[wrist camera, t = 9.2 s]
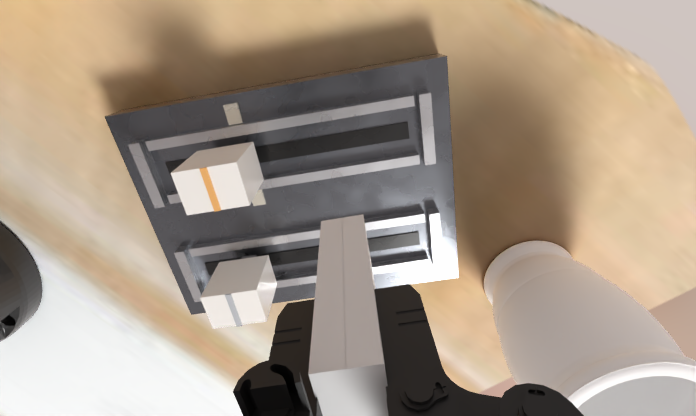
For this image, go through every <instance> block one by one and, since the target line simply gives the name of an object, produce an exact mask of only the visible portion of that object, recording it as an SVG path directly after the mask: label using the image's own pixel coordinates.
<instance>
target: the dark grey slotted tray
mask: <svg viewBox="0 0 696 416" xmlns="http://www.w3.org/2000/svg"><path fill="white" fill-rule="evenodd" d="M105 119H106V121H107V123H108V126H109V128H110V130H111V133H112V135H113V137H114V139H115V142H116V144H117V146H118V148H119V151H120V153H121V155H122V158H123V160H124V162H125V164H126V167H127V169H128V171H129V174H130V176H131V178H132V180H133V183H134V185H135V187H136V190H137V192H138V194H139V196H140V199H141V201H142V203H143V206H144V208H145V210H146V212H147V215H148V217H149V219H150V221H151V224H152V226H153V228H154V231H155V233H156V235H157V237H158V240H159V242H160V244H161V247H162V249H163V251H164V253H165V256H166V258H167V260H168V263H169V265H170V267H171V269H172V272H173V274H174V276H175V279H176V281H177V283H178V285H179V288H180V290H181V292H182V294H183V297H184V299H185V301H186V304H187V306H188V308H189V310H190V313H191V315H192V314H199V313H206V311H205V309H204V306H203V304H202V301H201V299H200V297H201V295H202V293H203V291H204V290H205V288H206V286H207V284H208V282H209V280H210V278H211V277H212V275H213V273H214V271H215V269H216V267H217V265H218V264H219V262H224V261H231V260H238V259H241V258H242V257H244V256H250V255H256V256H257V257H258V256H265V255H269V259H270V262H271V265H272V269H273V272H274V275H275V278H276V282H277V286H276V290H275V294H274V297H273V301H272V303H278V302H286V301H293V300H300V299H307V298H314V297H315V289H316V277H317V265H318V253H319V241H320V229H321V221H325V220H331V219H337V218H343V217H350V216H356V215H362V214H363V216H364V222H365V228H366V234H367V240H368V246H369V252H370V258H371V264H372V270H373V275H374V282H375V289H379V288H386V287H392V286H399V285H405V284H415V283H423V282H430V281H437V280H444V279H452V278H459V275H458V256H457V237H456V218H455V199H454V181H453V162H452V143H451V124H450V105H449V86H448V67H447V56H445V55H442V54H434V55H428V56H423V57H417V58H412V59H406V60H400V61H395V62H389V63H384V64H378V65H372V66H367V67H361V68H355V69H350V70H344V71H339V72H333V73H327V74H322V75H316V76H310V77H305V78H299V79H294V80H288V81H282V82H277V83H271V84H266V85H260V86H254V87H249V88H243V89H237V90H232V91H226V92H221V93H215V94H209V95H204V96H198V97H192V98H187V99H181V100H176V101H170V102H164V103H159V104H153V105H148V106H142V107H136V108H131V109H125V110H121V111H119V112H116V113H113V114H111V115H108V116H105ZM248 142H254V146H255V150H256V153H257V157H258V160H259V164H260V167H261V171H262V175H263V178H264V180H263V182H262V184H261V186H260V188H259V189H258V191H257V193H256V195H255V197H254V199H253V201H252V202H251V204H250V206H244V207H237V208H231V209H224V210H221V211H216V212H214V211H212V212H205V213H199V214H193V215H187V214H186V212H185V209H184V207H183V204H182V202H181V199H180V196H179V194H178V191H177V189H176V186H175V184H174V181H173V178H172V176H171V172H172V171H174V170H175V169H176V168H177V167H178V166H180V165H181V164H182V163H183V162H184V161H186V160H187V159H188V158H189V157H190V156H192V155H193V154H194V153H195V152H196V151H200V150H206V149H212V148H218V147H224V146H230V145H236V144H242V143H248Z"/></svg>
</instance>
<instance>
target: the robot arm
mask: <svg viewBox="0 0 696 416" xmlns="http://www.w3.org/2000/svg"><path fill="white" fill-rule="evenodd" d="M41 298H42V282H41V277H40V274H39V271H38V269H37V266H36V264H35V262H34V261H33V259H32V257H31V256H30V254H29V252H28V251H27V250H26V248H25V247H24V246H23V245H22V244H21V242H20V241H19V240H18V239H17V238H16V237H15V236H14V235H13V234H12V233H11V232H10V231H8V230H7V229H6V228H5V227H4V226H2V225H1V224H0V342H1V341H3V340H4V339H6V338H7V337H9V336H10V335H12V334H13V333H14V332H16V331H17V330H18V329H19V328H20V327H21V326H22V325H23V324H24V323H26V322H27V321H28V320H29V319H30V318H31V317H32V316H33V315H34V313H35V312H36V311H37V309H38V307H39V305H40V302H41ZM272 345H273V346H272V347H271V352H270V357H269V360H268V361H265V362H262V363H259V364H257V365H256V366H254V367H252V368H251V369H249V370H248V371H247V372H246V373H245V374H244V375H243V376H242V377H241V378H240V379H239V380H238V382H237V384H236V386H235V389H234V391H233V393H234V395H235V397H236V400H237V402H238V404H239V407H240V409H241V411H242V414H243V416H584V415H583V414H582V413H581V412H580V411H579V410H578V409H577V408H576V407H575V406H574V404H573V403H572V402H570V401H569V400H568V399H567V398H566V397H564V396H563V395H562V394H561V393H559V392H558V391H555V390H553V389H551V388H549V387H546V386H544V385H539V384H532V383H526V384H520V385H515V386H513V387H512V388H510V389H509V390H507V391H506V392H505V393H504V395H503V397H502V398H500V397H494V396H488V395H482V394H477V393H473V392H469V391H467V390H465V389H463V388H461V387H459V386H458V385H456V384H455V383H454V382H452V381H451V380H450V379H449V377H448V376H447V375H446V374H445V372H444V370H443V368H442V365H441V362H440V359H439V355H438V352H437V349H436V346H435V342H434V339H433V336H432V333H431V329H430V326H429V323H428V320H427V316H426V313H425V311H424V307H423V303H422V300H421V297H420V294H419V293H418V292H417V291H416V290H415V289H414V288H413V287H411V286H410V285H409V284H405V285H399V286H392V287H386V288H379V289H375V282H374V275H373V270H372V264H371V258H370V252H369V246H368V240H367V234H366V228H365V222H364V216H363V214H362V215H356V216H350V217H343V218H337V219H331V220H325V221H321V229H320V241H319V253H318V265H317V277H316V289H315V299H314V300H307V301H301V302H294V303H288V304H287V305H286V306H285V307H284V309H283V310H282V312H281V313H280V314H279V316H278V318H277V323H276V328H275V334H274V337H273V342H272Z"/></svg>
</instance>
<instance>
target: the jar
mask: <svg viewBox="0 0 696 416" xmlns="http://www.w3.org/2000/svg"><path fill="white" fill-rule="evenodd" d="M484 291H485V294H486V296H487V298H488V300H489V301H490V303H491V304H492V305H493V316H494V321H495V325H496V329H497V332H498V334H499V338H500V343H501V347H502V351H503V354H504V357H505V360H506V363H507V365H508V368H509V370H510V372H511V374H512V376H513V378H514V380H515V382H516V384H517V385H520V384H526V383H532V384H539V385H544V386H546V387H549V388H551V389H553V390H555V391H558V392H559V393H561V394H562V395H563V396H564V397H566V398H567V399H568V400H569V401H570V402H572V403H573V404H574V406H575V407H576V408H577V409H578V410H579V411H580V412H581V413H582V414H583V415H584V416H696V361H695V360H694V359H691V358H689V357H687V356H685V355H684V354H683V352H682V351H681V349H680V348H679V346H678V345H677V343H676V342H675V341H674V340H673V338H672V337H671V336H670V334H669V333H668V332H667V331H666V329H665V328H664V327H663V326H662V325H661V324H660V323H659V322H658V320H656V318H655V317H654V316H653V315H652V314H651V313H650V312H649V311H648V310H647V309H646V308H645V307H644V306H642V305H641V304H640V303H639V302H638V301H637V300H635V299H634V298H633V297H632V296H630V295H629V294H628V293H626V292H625V291H624V290H622V289H621V288H619V287H618V286H617V285H615V284H614V283H612V282H610V281H609V280H607V279H605V278H604V277H602V276H601V275H600V274H598V273H597V272H595V271H594V270H592V269H591V268H589V267H587V266H586V265H584V264H582V263H580V262H577V261H575V260H573V258H572V256H571V255H570V254H569V253H568V252H567V251H566V250H565V249H564V248H562V247H561V246H559V245H557V244H554V243H551V242H547V241H527V242H523V243H519V244H516V245H514V246H512V247H510V248H508V249H506V250H505V251H503V252H502V253H500V254H499V255H498V256H497V257H496V258H495V259H494V260H493V261H492V263H491V264H490V266H489V267H488V269H487V271H486V274H485V278H484Z"/></svg>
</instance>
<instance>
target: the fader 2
mask: <svg viewBox="0 0 696 416" xmlns="http://www.w3.org/2000/svg"><path fill="white" fill-rule="evenodd" d="M276 286H277V282H276V278H275V275H274V272H273V269H272V265H271V262H270V259H269V255H265V256H258V257H257V256H256V255H250V256H244V257H242V258H241V259H238V260H231V261H224V262H219V264H218V265H217V267H216V269H215V271H214V273H213V275H212V277H211V278H210V280H209V282H208V284H207V286H206V288H205V290H204V291H203V293H202V295H201V297H200V299H201V301H202V304H203V306H204V309H205V311H206V314H207V316H208V318H209V321H210V323H211V326H212V328H213V329H215V328H222V327H230V326H242V325H244V324H252V323H259V322H267V320H268V316H269V312H270V309H271V305H272V301H273V297H274V294H275V290H276Z"/></svg>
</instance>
